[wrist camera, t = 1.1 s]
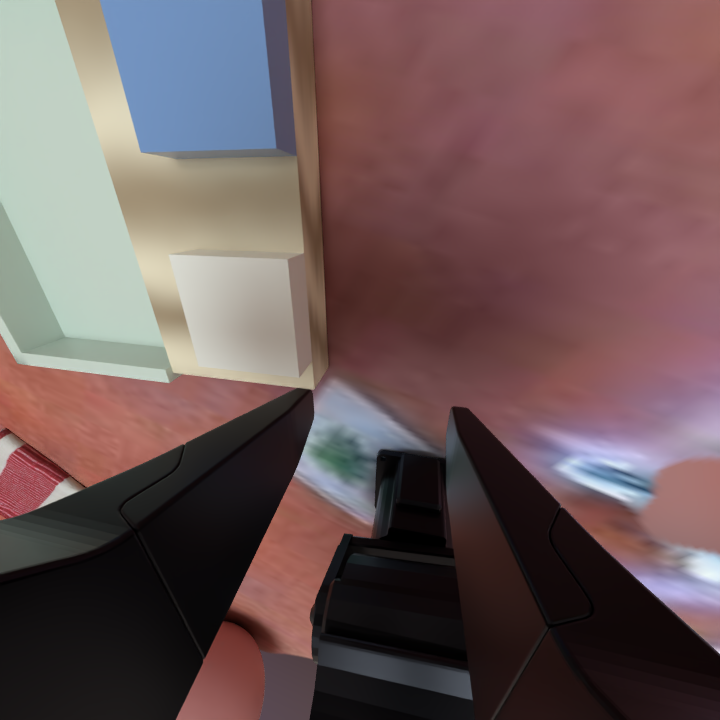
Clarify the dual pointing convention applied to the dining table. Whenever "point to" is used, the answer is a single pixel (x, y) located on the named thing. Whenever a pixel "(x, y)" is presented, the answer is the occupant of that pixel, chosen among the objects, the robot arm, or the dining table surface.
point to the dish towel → (29, 478)
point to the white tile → (246, 309)
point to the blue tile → (205, 76)
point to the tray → (63, 217)
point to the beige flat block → (209, 191)
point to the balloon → (228, 679)
